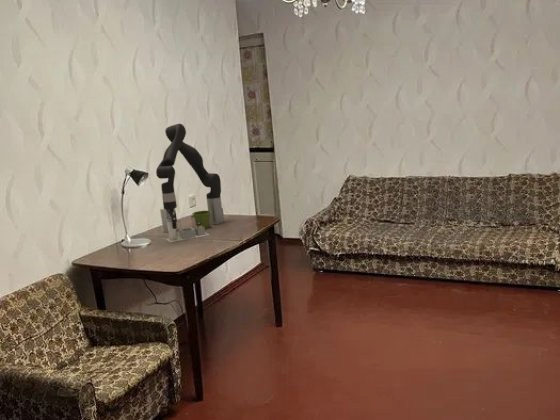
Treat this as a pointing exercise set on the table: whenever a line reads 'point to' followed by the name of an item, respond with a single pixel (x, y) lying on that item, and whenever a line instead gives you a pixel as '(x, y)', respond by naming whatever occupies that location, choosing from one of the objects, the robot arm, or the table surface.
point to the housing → (189, 234)
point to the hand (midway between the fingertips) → (172, 227)
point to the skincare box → (165, 220)
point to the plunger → (199, 225)
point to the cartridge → (171, 230)
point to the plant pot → (202, 217)
